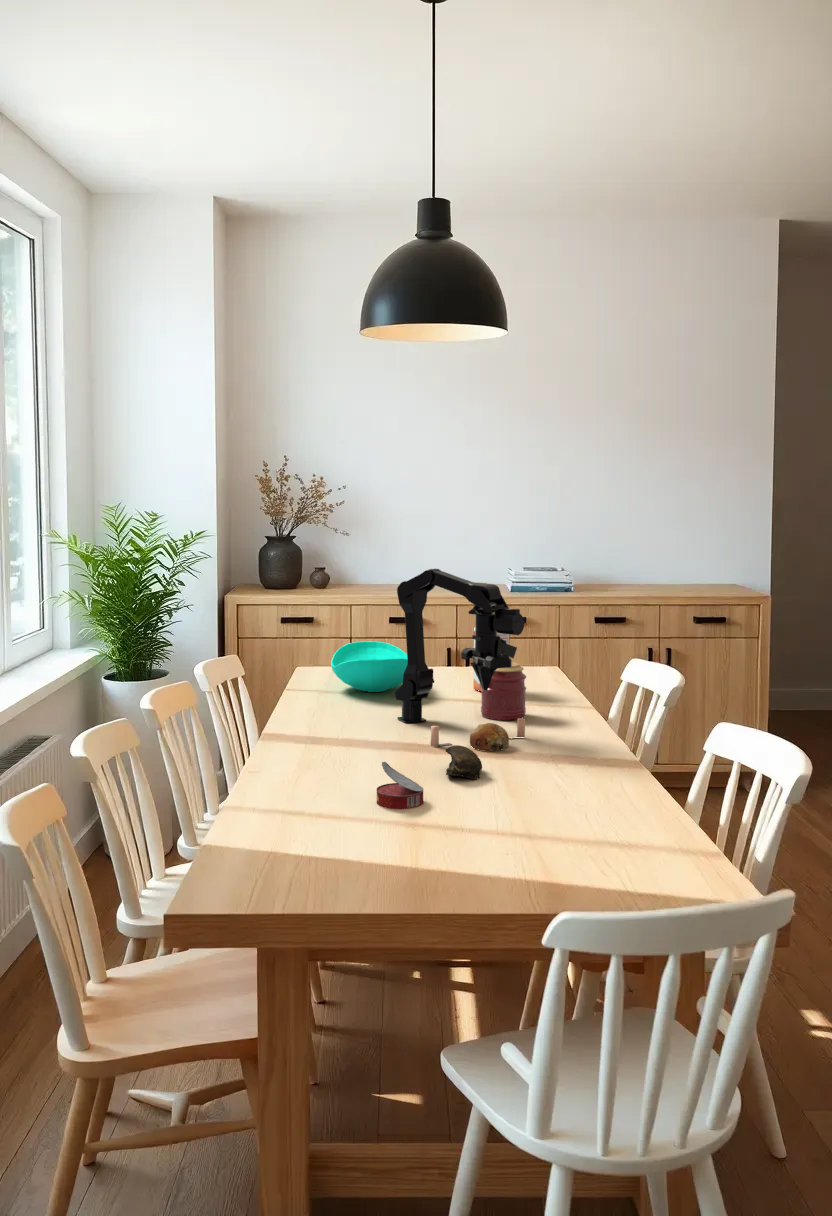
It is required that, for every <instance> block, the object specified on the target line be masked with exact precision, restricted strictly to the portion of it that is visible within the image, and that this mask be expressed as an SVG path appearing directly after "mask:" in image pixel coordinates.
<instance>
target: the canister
mask: <svg viewBox="0 0 832 1216" xmlns="http://www.w3.org/2000/svg"><path fill="white" fill-rule="evenodd" d="M524 669H525V668H524V666H521V665H520V664H519V663H517V662H514V661H512V665H511V667H510V668H497V669H496V670H495V671H494V673H493V676H492V679H491V682H490V685H489V688H488V690H483V688H482V686H481V689H482V692H481V707H480V712H481V716H482V717H483V718H485V717H486V718H485V719H488V718H490V719H489V720H494V719H499V720H498V721H512V720H511V719H516V720H517V719H518V718H522V717H523V718H525V717H524V716H526V711H527V710H526V709H527V708H526V692H527V686H526V685H525V680H526V679H527V675H526V674H525V673H524V672H523V671H524Z"/></svg>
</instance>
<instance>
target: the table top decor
mask: <svg viewBox="0 0 832 1216" xmlns="http://www.w3.org/2000/svg"><path fill="white" fill-rule="evenodd" d="M407 664H408V660H407V652H405V651H403V649H401V648H399V647H398V646H396V645H393V644H392V643H388V642H382V641H355V642H349V643H346V644H344V645H342V646H340V647H339V648H338V649H337V650H336V651H335V652H334V654H333V656H332V658H331V661H330V665H331V669H332V672H333V674H334V675H335V676H336V677H337V678H338V679H339V680H340V681H341V682H343V683H344V684H346V685H348V686H350V687H352V688H354V689H355V690H359V691H363V692H365V691H368V692H367V693H376V692H377V693H379V692H380V693H382V692H385V691H387V690H390V689H393V688H396V687H398V686H401V685H402V684H403V674H404V671H405V669H406V667H407Z"/></svg>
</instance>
